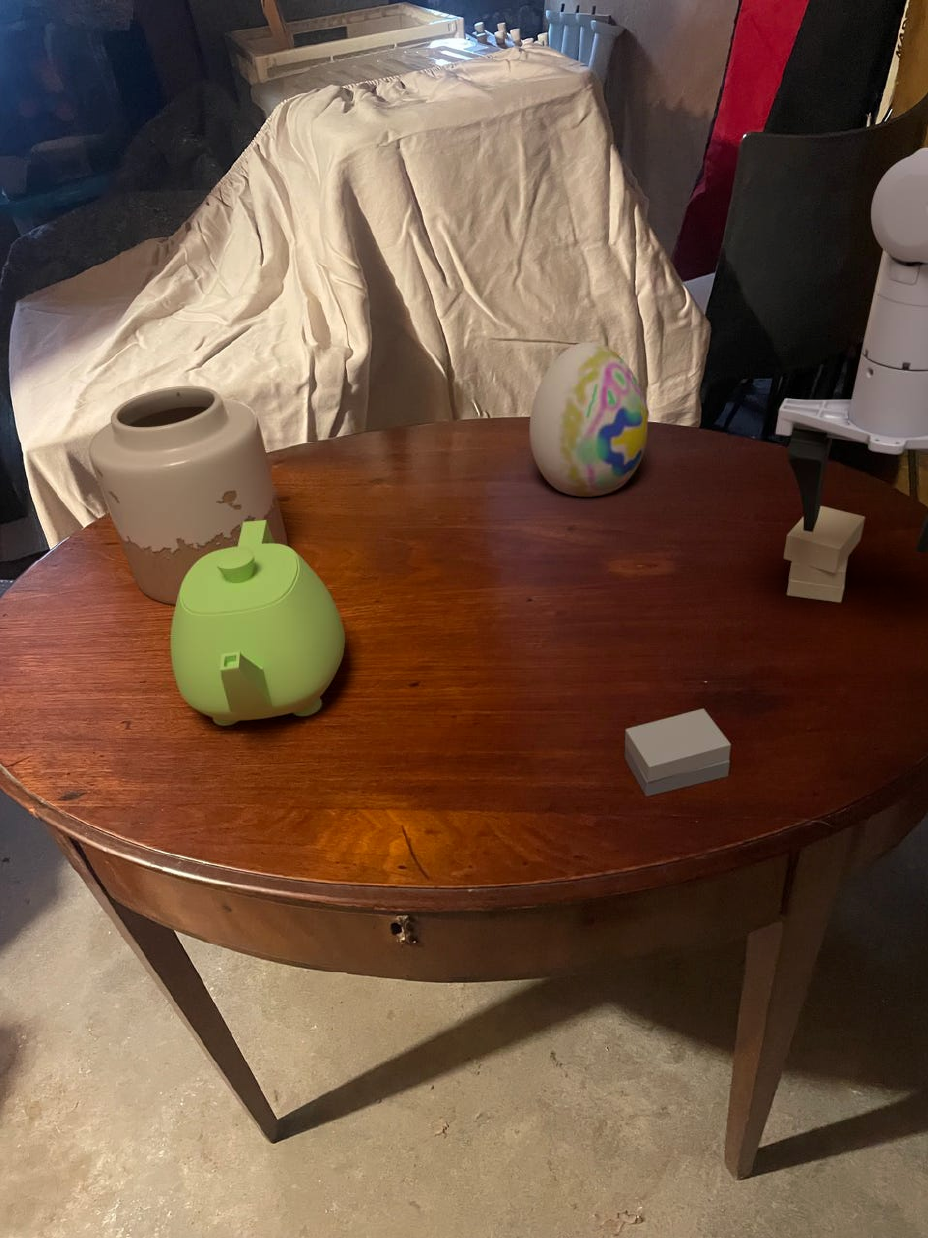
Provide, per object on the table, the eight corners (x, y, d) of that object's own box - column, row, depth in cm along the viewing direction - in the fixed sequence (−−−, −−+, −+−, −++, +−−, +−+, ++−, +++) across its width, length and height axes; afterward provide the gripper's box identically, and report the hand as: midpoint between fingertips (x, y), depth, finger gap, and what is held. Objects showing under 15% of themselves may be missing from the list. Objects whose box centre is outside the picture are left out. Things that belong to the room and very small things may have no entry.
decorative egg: (592, 519, 89) (593, 377, 80) (508, 483, 96) (500, 349, 87) (668, 475, 95) (676, 338, 86) (583, 444, 102) (583, 315, 94)
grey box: (702, 738, 63) (705, 707, 61) (728, 777, 60) (733, 746, 58) (623, 757, 62) (624, 726, 60) (645, 798, 59) (647, 767, 57)
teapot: (349, 764, 64) (317, 627, 56) (166, 786, 64) (109, 651, 56) (354, 606, 80) (330, 483, 73) (208, 623, 80) (168, 502, 72)
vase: (113, 563, 90) (54, 410, 80) (246, 508, 97) (207, 361, 87) (173, 628, 80) (114, 461, 70) (317, 561, 87) (282, 401, 77)
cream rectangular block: (809, 527, 78) (813, 503, 77) (860, 540, 76) (865, 516, 74) (783, 558, 75) (786, 534, 73) (835, 573, 72) (840, 549, 71)
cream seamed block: (792, 558, 80) (797, 528, 78) (845, 565, 79) (851, 534, 77) (785, 595, 76) (790, 564, 74) (841, 603, 74) (848, 572, 72)
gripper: (779, 364, 56) (751, 542, 64) (1040, 393, 50) (972, 586, 58) (801, 326, 61) (772, 497, 69) (1041, 348, 55) (978, 532, 63)
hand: (865, 534), depth 64 cm, fingers open, 7 cm apart
